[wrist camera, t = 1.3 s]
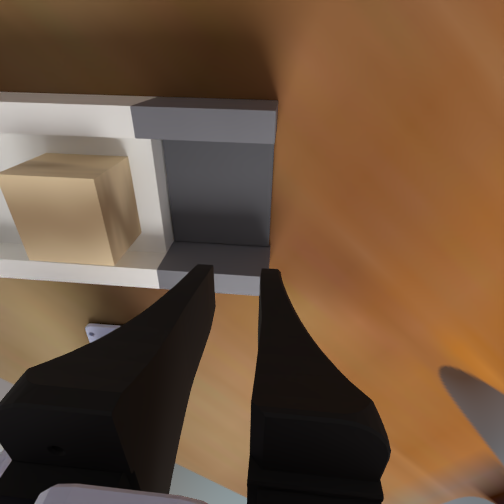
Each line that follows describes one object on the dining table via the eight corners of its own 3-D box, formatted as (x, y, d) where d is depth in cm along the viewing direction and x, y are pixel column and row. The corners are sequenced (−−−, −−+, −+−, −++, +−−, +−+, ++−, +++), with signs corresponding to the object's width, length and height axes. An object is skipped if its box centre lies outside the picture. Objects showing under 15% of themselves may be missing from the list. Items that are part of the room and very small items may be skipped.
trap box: (269, 262, 24) (266, 296, 21) (-148, 235, 27) (-212, 261, 23) (278, 100, 19) (276, 110, 15) (-255, 83, 21) (-359, 90, 18)
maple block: (141, 232, 22) (114, 265, 18) (69, 228, 22) (29, 260, 19) (128, 156, 19) (93, 178, 16) (46, 152, 19) (-6, 174, 16)
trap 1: (268, 243, 24) (268, 246, 23) (176, 237, 24) (174, 240, 24) (274, 129, 19) (274, 131, 19) (163, 125, 20) (161, 126, 20)
